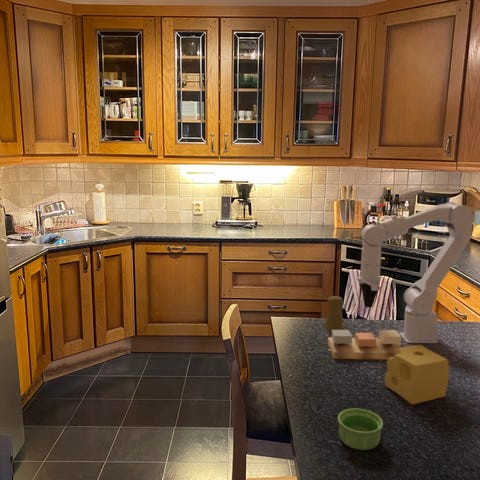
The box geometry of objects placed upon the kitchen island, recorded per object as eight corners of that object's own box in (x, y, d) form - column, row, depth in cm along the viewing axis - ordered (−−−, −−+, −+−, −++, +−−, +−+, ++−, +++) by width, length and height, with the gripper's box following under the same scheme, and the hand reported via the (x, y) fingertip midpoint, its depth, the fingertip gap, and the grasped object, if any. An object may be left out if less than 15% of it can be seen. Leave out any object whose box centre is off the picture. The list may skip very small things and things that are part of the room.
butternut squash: (330, 324, 164) (331, 293, 162) (347, 328, 161) (348, 296, 158) (321, 329, 160) (322, 297, 158) (338, 333, 156) (339, 300, 154)
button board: (393, 344, 147) (394, 333, 147) (404, 359, 137) (405, 348, 136) (328, 343, 148) (328, 333, 147) (333, 358, 137) (334, 347, 137)
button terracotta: (371, 339, 144) (372, 333, 144) (376, 346, 139) (376, 339, 139) (355, 339, 144) (355, 332, 144) (358, 346, 139) (358, 339, 139)
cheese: (384, 386, 121) (386, 348, 120) (418, 379, 125) (421, 342, 123) (412, 406, 112) (414, 366, 110) (448, 398, 116) (452, 359, 114)
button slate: (348, 336, 144) (348, 329, 144) (351, 343, 139) (352, 336, 139) (331, 336, 144) (331, 329, 144) (334, 343, 139) (334, 336, 139)
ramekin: (330, 442, 98) (330, 423, 97) (346, 422, 106) (347, 403, 105) (373, 458, 93) (374, 437, 92) (387, 435, 101) (388, 416, 100)
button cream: (395, 337, 144) (396, 330, 143) (400, 343, 139) (401, 336, 138) (378, 337, 144) (379, 330, 144) (383, 343, 139) (383, 336, 139)
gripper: (352, 258, 155) (350, 299, 157) (362, 269, 141) (360, 314, 143) (374, 258, 155) (372, 299, 157) (387, 270, 140) (384, 314, 143)
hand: (368, 306), depth 150 cm, fingers closed
